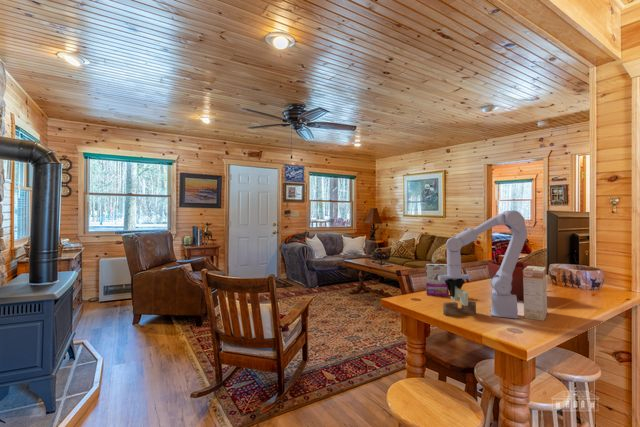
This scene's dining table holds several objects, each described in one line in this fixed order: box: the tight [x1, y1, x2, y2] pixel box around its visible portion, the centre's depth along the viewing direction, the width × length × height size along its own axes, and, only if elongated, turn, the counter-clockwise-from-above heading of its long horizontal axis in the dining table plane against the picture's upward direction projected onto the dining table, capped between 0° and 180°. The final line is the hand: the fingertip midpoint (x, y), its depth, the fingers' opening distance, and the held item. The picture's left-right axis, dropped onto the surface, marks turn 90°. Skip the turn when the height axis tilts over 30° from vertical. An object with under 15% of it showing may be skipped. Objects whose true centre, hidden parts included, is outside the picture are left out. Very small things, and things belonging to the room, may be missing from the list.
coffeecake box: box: [523, 265, 548, 322], centre depth 137 cm, size 15×7×20 cm, turn 141°
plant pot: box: [487, 261, 542, 301], centre depth 167 cm, size 19×19×17 cm
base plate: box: [442, 300, 477, 317], centre depth 140 cm, size 14×2×5 cm, turn 100°
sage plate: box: [450, 287, 469, 306], centre depth 140 cm, size 10×2×6 cm, turn 10°
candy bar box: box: [425, 263, 450, 297], centre depth 175 cm, size 11×5×16 cm, turn 73°
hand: (454, 296), depth 143 cm, fingers closed on sage plate, 2 cm apart
